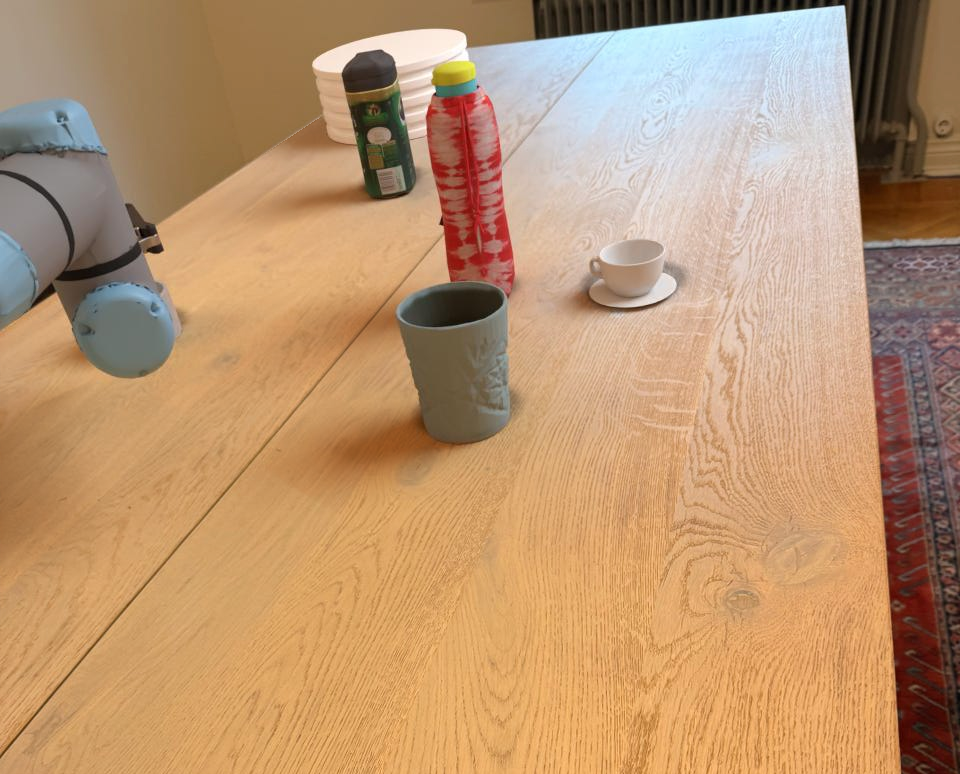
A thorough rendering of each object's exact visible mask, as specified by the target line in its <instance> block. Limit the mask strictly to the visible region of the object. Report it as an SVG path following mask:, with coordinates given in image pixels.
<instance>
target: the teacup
mask: <svg viewBox="0 0 960 774" xmlns="http://www.w3.org/2000/svg"><path fill="white" fill-rule="evenodd" d="M665 256H666V247H665V245H664V244H663V243H661V242H659V241H658V240H655V239H649V238H629V239H628V238H627V239H623V240H618V241H614V242H613V243H610V244H608V245H606V246H604V247H603V248H602V249H601V250H600V251H599V252H598V255H595V256H593V257H592V258H591V259H590V261H589V264H588V265H589V271H590V274H592V276H594V277H595V278H597V279H598V280H596V281H594V283H592V285H591V286H590V288H589V290H588V294H589V295H588V296H589V297H590V298H591V300H593V301H594V302H596V303H597V304H600V305H603V306H607V307H613V308H636V307H644V306H648V305H652V304H654V303H658V302H660V301H663V300H665V299H667V298H668V297H670V296H671V295H672V294H673V293H674V292H675V291H676V289H677V281H676V279H675V278H674V277H673V276H671V275H670V274H668V273H665V272H663V270H664V265H665ZM595 263H597V264H598V265H599V267H600V271H599V270H598V269H596V266H595Z"/></svg>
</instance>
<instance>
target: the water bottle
mask: <svg viewBox="0 0 960 774" xmlns="http://www.w3.org/2000/svg"><path fill="white" fill-rule="evenodd" d="M432 75H433V78H432V79H431V83H432V85H435V90H436V92H435V93H434V94H433V95H432V98H431V103H430V105H429V106H428V110H427V114H426V126H427V136H426V140H427V147H428V148H427V149H428V154H429V159H430V166H431V171H432V174H433V178H434V183H435V186H436V190H437V194H438V198H439V205H440V211H441V217H440V220H439V223H438V225H439V226H442V227H443V236H444V246H445V255H446V266H447V270H448V276H449V282H460V281H476V282H485V283H489V284H492V285H495V286H497V287H499V288H500V289H502V290H503V291H504V292H505V294H506V296H507V300H508V299H509V297H510V294H511V293H512V290H513V286H514V281H515V276H516V270H515V259H514V251H513V246H512V245H513V244H512V240H511V234H510V230H509V223H508V217H507V214H506V213H507V212H506V206H505V198H504V190H503V165H502V148H501V141H500V133H499V126H498V121H497V118H496V117H497V116H496V113H495V108H494V105H493V102H492V101H491V99H490V97H489V95H488V94H486V93H485V91H484V89H483V86H480V85H479V84H477V72H476V65H475V63H474V62H472V61H470V60H469V61H460V60H459V61H451V62H447V63H444V64H442V65H439V66H437V67H435V69H434V70H433V72H432Z"/></svg>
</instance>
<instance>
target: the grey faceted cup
mask: <svg viewBox="0 0 960 774" xmlns="http://www.w3.org/2000/svg"><path fill="white" fill-rule="evenodd" d="M154 281H155V284H156V286H157V289H158V291H159V294H160V296H161V299H163V300H164V301H165V303H166V304H167V306H168V311H169V313H170V314H171V317H172V323H173V326H174V334H175V339H174V341H176V340H177V339H178V338H179V337H180V336H181V334H182V333H183V326H182V323H181V321H180V317H179V316H178V315H179V314H178V313H177V310H176V307H175V304H174V302H173V299H172V297H171V293H170V291H169V289H168V286H167V284H166V282H164V281H162V280H160V279H159V280H158V279H154Z"/></svg>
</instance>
